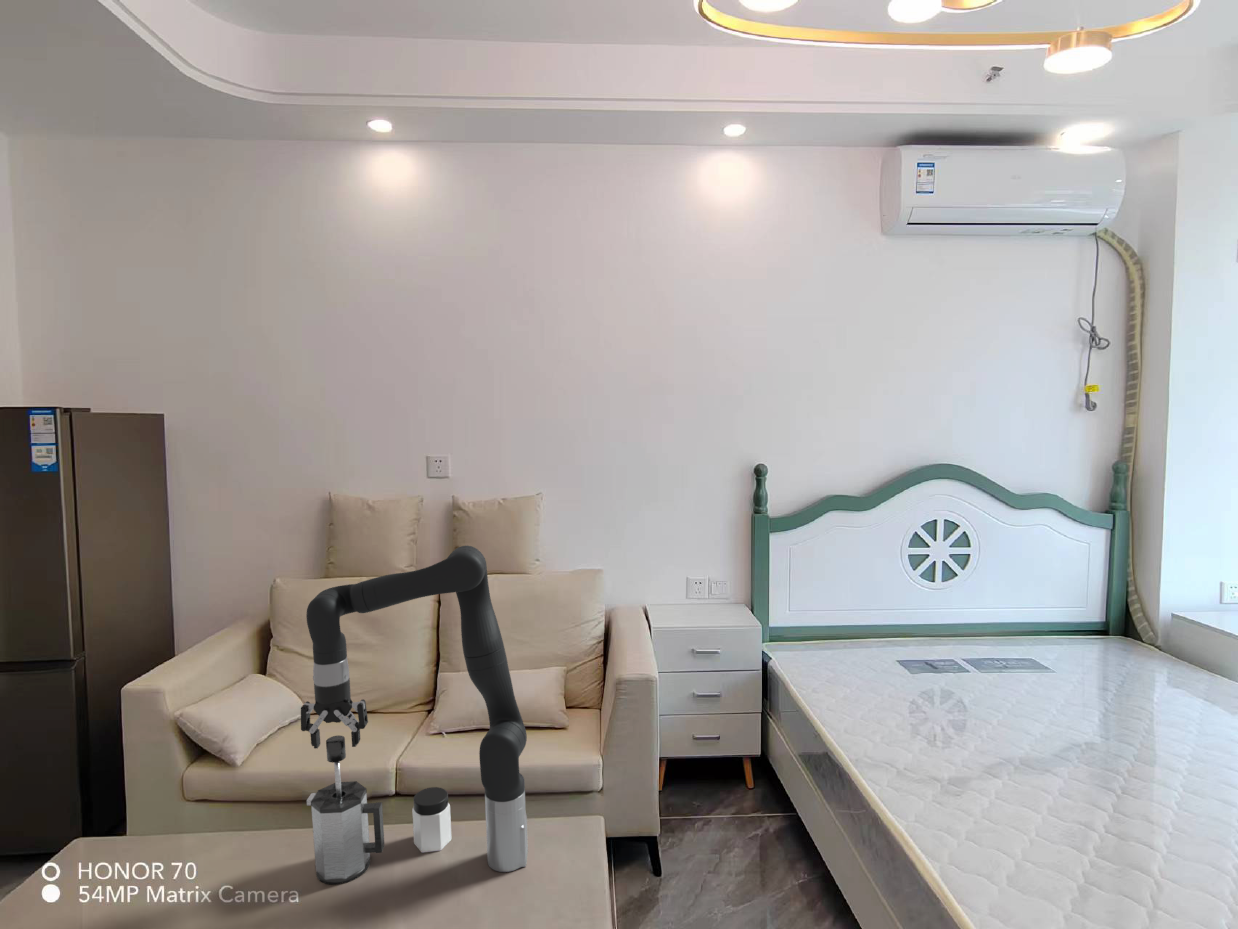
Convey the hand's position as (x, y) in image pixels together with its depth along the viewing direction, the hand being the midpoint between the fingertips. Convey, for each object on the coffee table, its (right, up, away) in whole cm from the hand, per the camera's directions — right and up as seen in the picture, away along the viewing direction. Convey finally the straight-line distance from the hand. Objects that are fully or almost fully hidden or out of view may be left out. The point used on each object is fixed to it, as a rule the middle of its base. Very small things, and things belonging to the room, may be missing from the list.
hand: (336, 746), depth 167 cm
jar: (+19, -29, +12) cm, 36 cm away
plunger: (0, -19, +2) cm, 19 cm away
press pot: (+2, -30, +4) cm, 30 cm away
